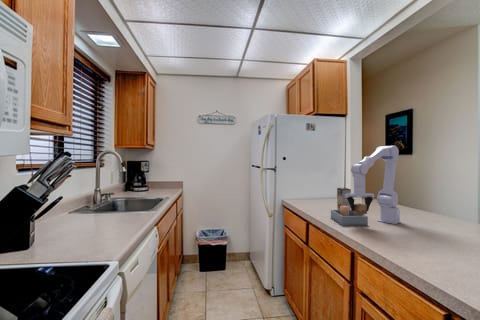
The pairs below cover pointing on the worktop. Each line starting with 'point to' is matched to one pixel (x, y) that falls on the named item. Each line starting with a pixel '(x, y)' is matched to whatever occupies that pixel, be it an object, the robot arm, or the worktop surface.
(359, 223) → the slate tote
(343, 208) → the peach rounded cylinder
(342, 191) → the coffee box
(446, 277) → the worktop surface
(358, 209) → the walnut block
